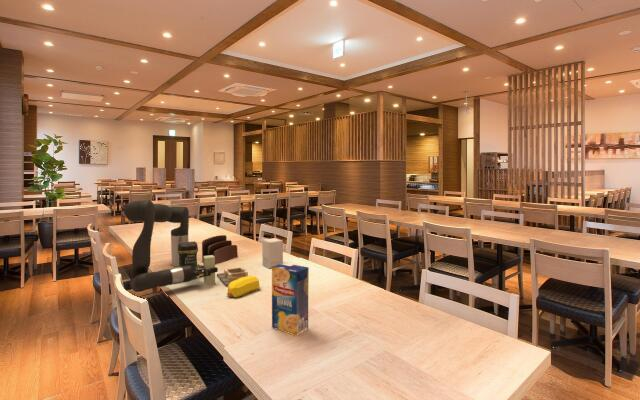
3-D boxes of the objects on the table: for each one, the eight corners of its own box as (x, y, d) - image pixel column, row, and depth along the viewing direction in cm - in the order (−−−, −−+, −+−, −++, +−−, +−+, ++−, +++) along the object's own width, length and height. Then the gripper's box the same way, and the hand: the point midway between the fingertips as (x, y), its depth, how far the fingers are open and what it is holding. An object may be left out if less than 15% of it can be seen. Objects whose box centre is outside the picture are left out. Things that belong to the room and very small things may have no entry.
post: (203, 282, 174) (203, 256, 172) (213, 280, 176) (212, 255, 174) (205, 284, 170) (205, 258, 168) (215, 283, 172) (214, 257, 171)
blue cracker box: (284, 320, 132) (284, 262, 130) (308, 328, 126) (308, 267, 124) (271, 327, 126) (271, 266, 124) (296, 336, 120) (297, 272, 118)
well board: (216, 276, 183) (216, 268, 183) (241, 272, 189) (241, 264, 189) (225, 286, 167) (225, 278, 167) (252, 282, 174) (252, 274, 173)
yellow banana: (222, 296, 155) (234, 300, 151) (222, 281, 155) (234, 285, 150) (252, 285, 170) (264, 289, 166) (252, 272, 169) (264, 275, 165)
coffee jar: (180, 282, 173) (178, 244, 171) (176, 277, 180) (175, 241, 178) (200, 278, 178) (199, 242, 177) (196, 274, 185) (195, 239, 183)
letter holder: (201, 262, 208) (201, 239, 207) (225, 255, 226) (225, 233, 224) (214, 265, 204) (214, 240, 202) (237, 257, 221) (237, 235, 220)
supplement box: (283, 266, 202) (283, 240, 200) (269, 268, 197) (269, 242, 195) (276, 262, 209) (276, 237, 208) (262, 265, 204) (261, 239, 203)
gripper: (186, 270, 157) (220, 263, 168) (173, 263, 167) (206, 257, 178) (186, 286, 157) (221, 278, 169) (173, 279, 168) (207, 272, 179)
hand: (213, 267), depth 174 cm, fingers open, 6 cm apart
